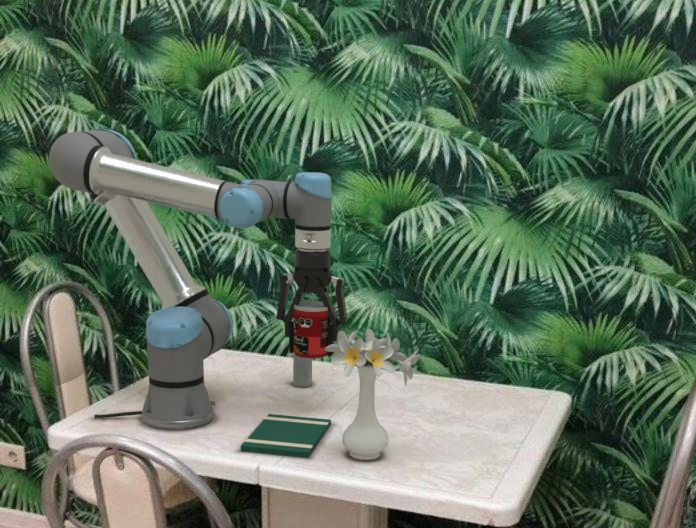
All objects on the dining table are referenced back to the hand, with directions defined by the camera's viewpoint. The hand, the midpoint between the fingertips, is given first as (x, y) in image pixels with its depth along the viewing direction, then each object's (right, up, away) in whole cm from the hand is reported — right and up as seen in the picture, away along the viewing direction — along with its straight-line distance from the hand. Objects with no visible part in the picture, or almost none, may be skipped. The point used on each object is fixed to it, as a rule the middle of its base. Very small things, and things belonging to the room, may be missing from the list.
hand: (311, 353), depth 210 cm
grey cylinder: (-3, -6, +24) cm, 25 cm away
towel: (-4, -19, -10) cm, 22 cm away
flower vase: (+12, -22, -18) cm, 31 cm away
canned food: (0, 0, 0) cm, 0 cm away
